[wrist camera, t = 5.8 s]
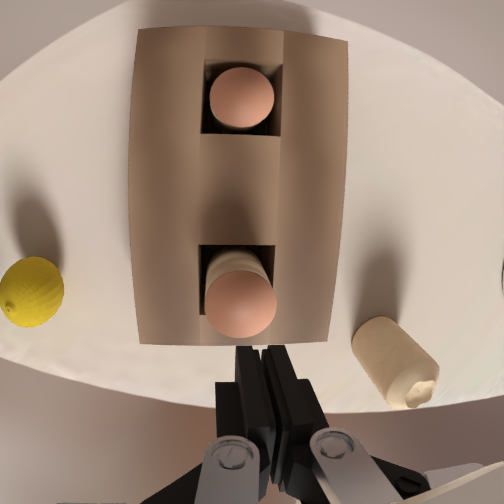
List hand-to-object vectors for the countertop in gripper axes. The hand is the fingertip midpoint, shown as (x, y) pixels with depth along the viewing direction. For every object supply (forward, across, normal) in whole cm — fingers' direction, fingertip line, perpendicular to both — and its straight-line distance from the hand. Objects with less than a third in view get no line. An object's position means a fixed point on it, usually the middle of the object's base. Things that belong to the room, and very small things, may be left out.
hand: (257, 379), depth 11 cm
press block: (+17, 0, -6) cm, 18 cm away
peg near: (+13, 0, 0) cm, 13 cm away
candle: (+17, -15, +9) cm, 25 cm away
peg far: (+17, 0, -12) cm, 21 cm away
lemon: (+17, +17, +3) cm, 24 cm away
